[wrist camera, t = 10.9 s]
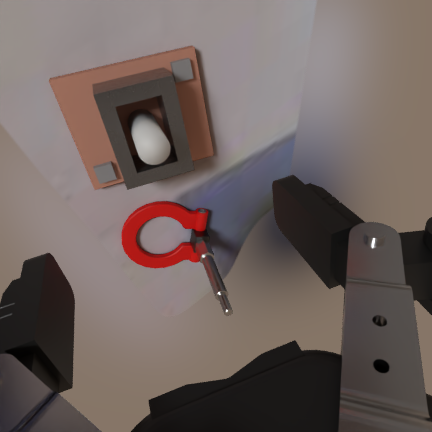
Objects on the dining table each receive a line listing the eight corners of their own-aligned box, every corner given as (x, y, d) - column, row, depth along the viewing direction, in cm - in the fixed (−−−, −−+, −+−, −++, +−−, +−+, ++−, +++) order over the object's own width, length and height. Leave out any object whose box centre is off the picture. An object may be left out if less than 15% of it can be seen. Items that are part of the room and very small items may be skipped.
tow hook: (120, 263, 39) (198, 261, 42) (124, 357, 29) (229, 345, 32) (122, 198, 36) (208, 200, 38) (128, 279, 25) (247, 273, 28)
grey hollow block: (92, 84, 28) (93, 94, 25) (163, 67, 29) (173, 75, 26) (123, 171, 32) (127, 189, 29) (183, 153, 33) (194, 169, 30)
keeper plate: (49, 78, 28) (39, 101, 21) (191, 45, 30) (220, 57, 23) (94, 185, 33) (96, 229, 27) (210, 151, 35) (239, 184, 29)
